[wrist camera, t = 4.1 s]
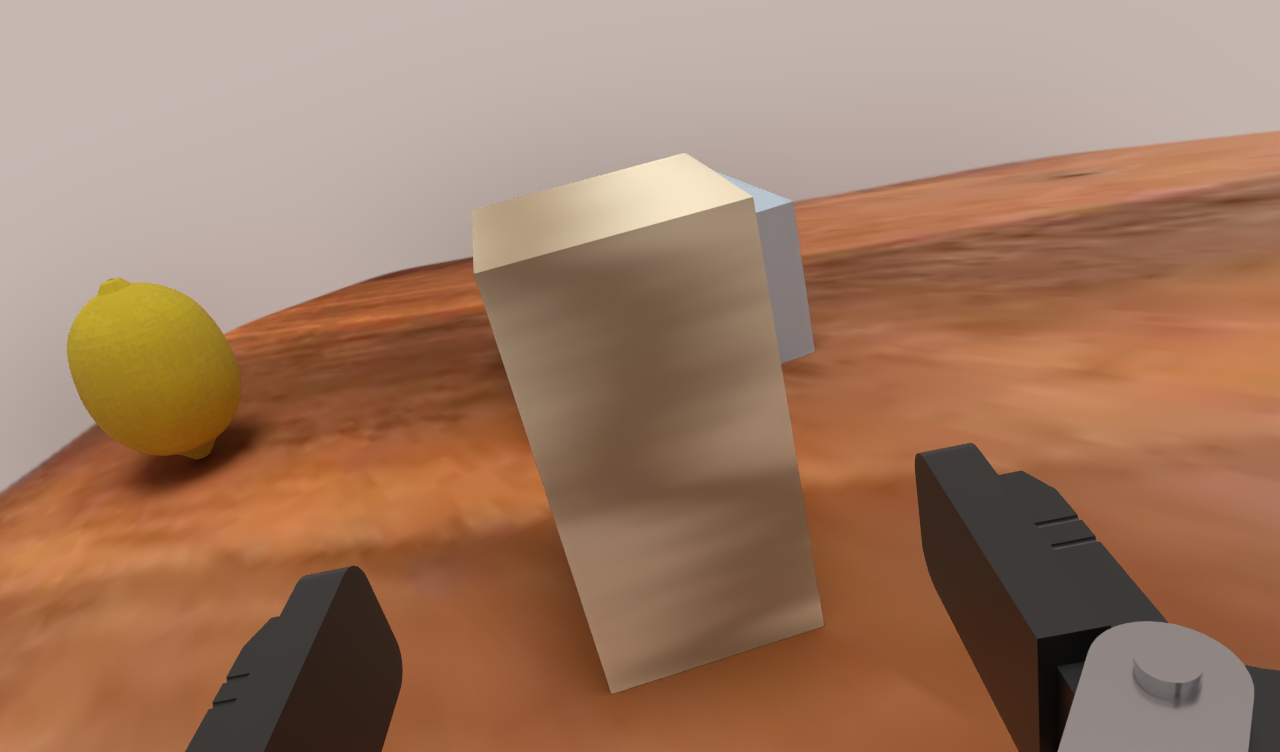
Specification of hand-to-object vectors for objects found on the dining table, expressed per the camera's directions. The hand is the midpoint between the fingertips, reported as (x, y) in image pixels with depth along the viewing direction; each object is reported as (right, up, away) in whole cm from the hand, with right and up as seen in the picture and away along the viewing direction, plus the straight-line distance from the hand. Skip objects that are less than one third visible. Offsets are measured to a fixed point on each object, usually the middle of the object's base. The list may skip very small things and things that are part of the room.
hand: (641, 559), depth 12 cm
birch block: (+1, -3, +9) cm, 9 cm away
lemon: (-18, -1, +23) cm, 29 cm away
